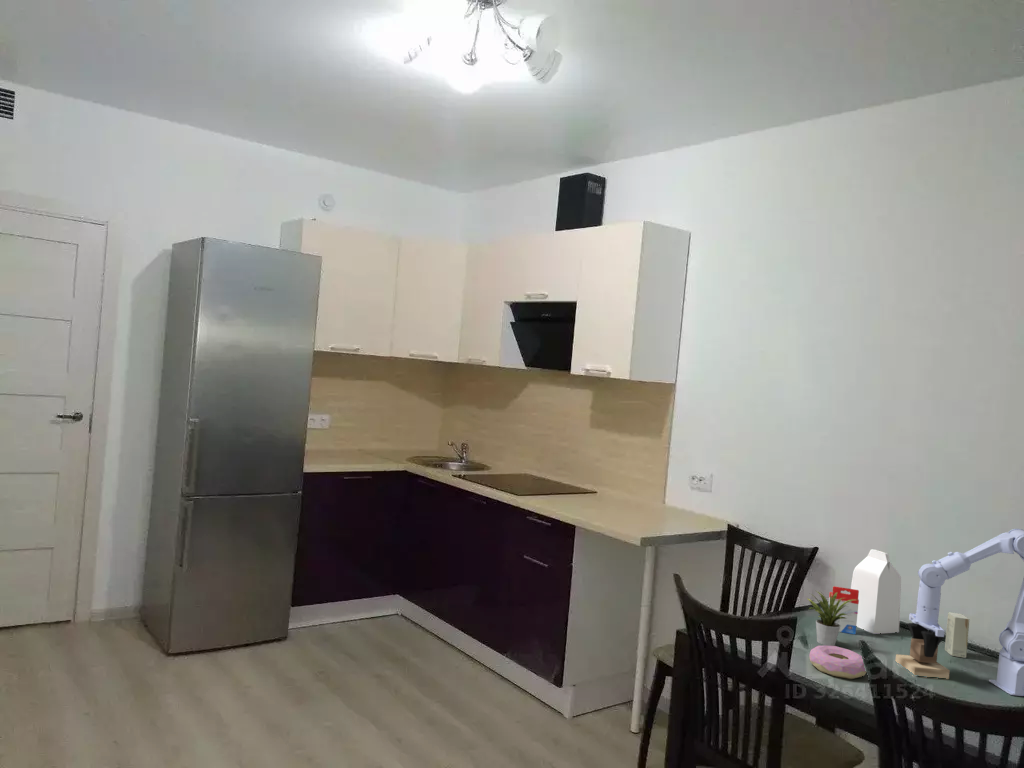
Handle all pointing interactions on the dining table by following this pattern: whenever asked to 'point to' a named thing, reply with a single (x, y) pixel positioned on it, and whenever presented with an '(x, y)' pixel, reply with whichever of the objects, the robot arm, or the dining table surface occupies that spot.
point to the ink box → (847, 609)
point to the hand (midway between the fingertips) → (923, 652)
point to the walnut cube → (921, 651)
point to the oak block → (922, 667)
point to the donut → (837, 661)
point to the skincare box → (957, 634)
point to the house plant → (828, 619)
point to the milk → (877, 593)
